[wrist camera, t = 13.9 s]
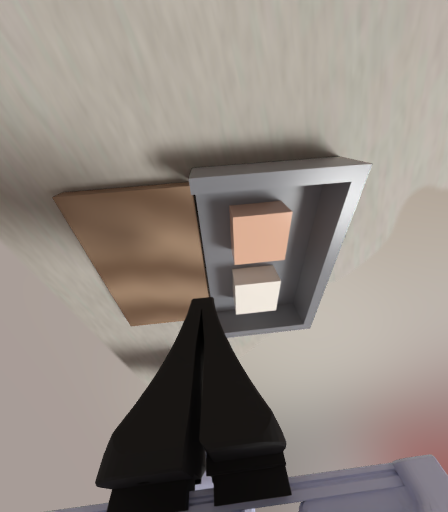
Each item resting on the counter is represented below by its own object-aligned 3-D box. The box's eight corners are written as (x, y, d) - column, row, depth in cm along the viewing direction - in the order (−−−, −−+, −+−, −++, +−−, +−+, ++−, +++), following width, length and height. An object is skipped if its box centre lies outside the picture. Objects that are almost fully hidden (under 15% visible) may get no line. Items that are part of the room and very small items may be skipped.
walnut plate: (211, 309, 24) (211, 317, 23) (134, 317, 23) (130, 326, 22) (191, 181, 14) (190, 185, 13) (62, 192, 14) (52, 197, 13)
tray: (298, 305, 25) (310, 328, 22) (213, 314, 24) (214, 339, 22) (339, 156, 14) (372, 163, 11) (191, 168, 14) (188, 178, 11)
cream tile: (269, 293, 22) (275, 310, 20) (233, 297, 22) (236, 314, 20) (273, 265, 20) (281, 280, 18) (232, 269, 20) (235, 285, 18)
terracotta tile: (275, 244, 18) (284, 259, 16) (231, 249, 18) (234, 265, 16) (281, 200, 16) (292, 211, 14) (229, 205, 15) (232, 217, 13)
